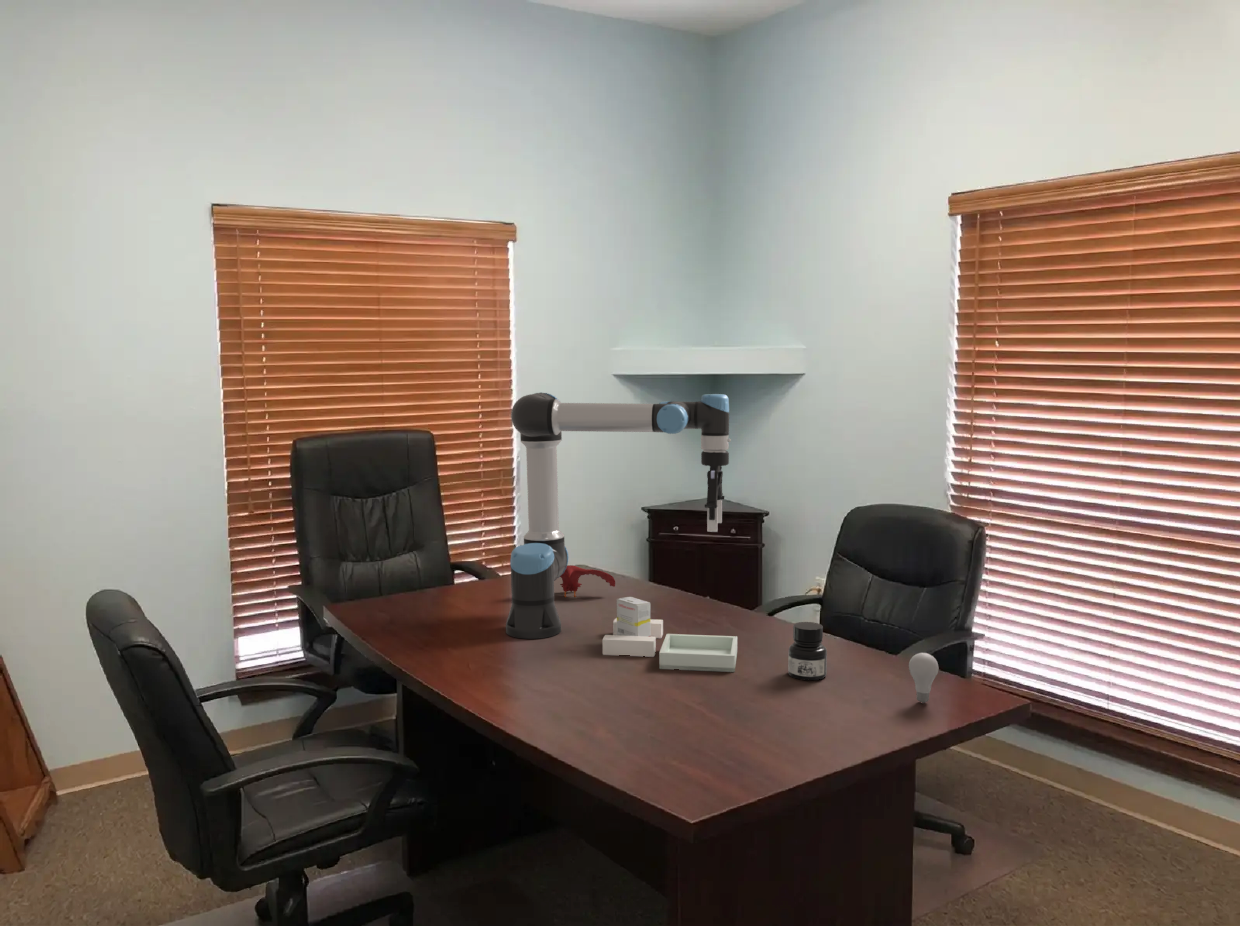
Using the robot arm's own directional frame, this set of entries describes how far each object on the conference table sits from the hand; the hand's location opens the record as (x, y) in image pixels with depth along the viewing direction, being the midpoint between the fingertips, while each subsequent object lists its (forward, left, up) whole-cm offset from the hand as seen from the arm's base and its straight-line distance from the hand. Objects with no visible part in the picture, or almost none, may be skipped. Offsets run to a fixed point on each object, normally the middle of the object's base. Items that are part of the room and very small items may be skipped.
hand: (714, 527), depth 267 cm
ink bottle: (+24, -40, -28) cm, 54 cm away
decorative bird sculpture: (-47, +26, -28) cm, 60 cm away
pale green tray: (-2, -32, -28) cm, 42 cm away
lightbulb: (+48, -55, -28) cm, 78 cm away
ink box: (-20, -21, -28) cm, 40 cm away
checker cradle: (-20, -21, -28) cm, 40 cm away
